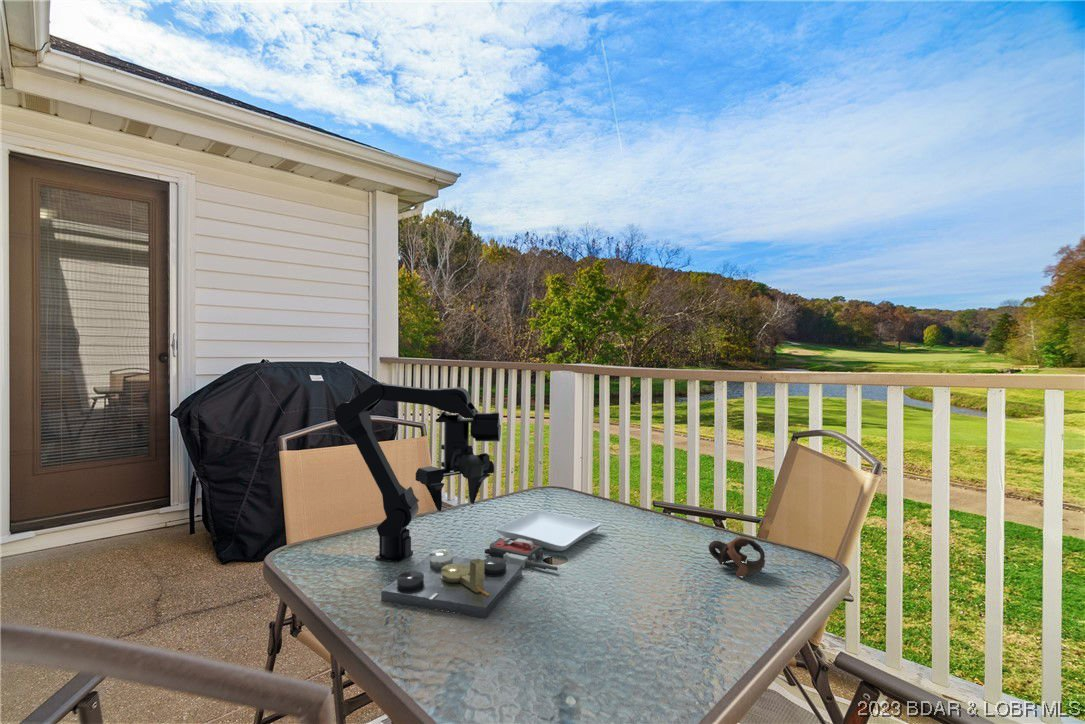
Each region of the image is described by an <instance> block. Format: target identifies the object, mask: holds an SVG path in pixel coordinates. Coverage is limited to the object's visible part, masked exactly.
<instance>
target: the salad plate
mask: <svg viewBox="0 0 1085 724" xmlns="http://www.w3.org/2000/svg"><path fill="white" fill-rule="evenodd" d="M601 525H602V523H601V522H598V521H593V520H589V519H585V518H579V517H575V516H571V515H566V514H562V513H557V512H552V511H551V512H550V511H546V510H542V509H541V510H540V509H538V510H537V509H536V510H534V511H532V512H529V513H526V514H525V515H524V514H523V515H522V516H520V517H517V518H514V519H513V520H510V521H507V522H506V523H504V524H501V525H500V526H497V527H495V531H496V532H497V533H498V534H499V535H501V537H504V538H506V539H507V538H510V539H509V540H512V541H515V540H517V539H518V538H520V539H525V540H530V541H533V542H534V544H535V545H537V546H541V547H542V549H544V550H545V549H546V550H551V551H555V552H563V551H566V550H568V548H569V547H570V548H571V546H572V545H574V544H575V543H578V542H579V541H580V540H583V539H584V538H585V537H587V536H589V535H592V534H593V533H594V532H596V531H597V530H598V529H599V528H601Z"/></svg>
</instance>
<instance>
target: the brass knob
mask: <svg viewBox="0 0 1085 724" xmlns="http://www.w3.org/2000/svg"><path fill="white" fill-rule="evenodd" d="M474 559H475V560H472V561H470V566H469V565H467V564H463V563H453V564H448V565H446V566H444V567H442V569H441V579H442V580H444V581H446V582H452V583H456V582H461V583H462V584H464V585H465V586H467V587H468V588H470V589H471V590H473V591H474V592H476V593H477V592H480V591H483V584H484V561H483V560H484V559H480V558H474Z"/></svg>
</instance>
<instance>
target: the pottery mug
mask: <svg viewBox="0 0 1085 724" xmlns="http://www.w3.org/2000/svg"><path fill="white" fill-rule="evenodd" d="M748 545H749V546H750V547H752V549H753V550H754V551H755V552H758V553H759V556H760V557H759V558H758V559H757V560H750V559H748V556H747V554H744V553H743V552H741V549H742V548H744V547H747V546H748ZM707 549H708V551H709V553H710V554H711V556H712V557H713V558H714V559H715V560H716V561H717V562H718V564H719V565H723V564H722V562H725V563H727V562H730V560H731V561H732V562H733V563H734V564H735V565H736V566H737V567H738V568H737V570H736V572H735V575H737V576H736V577H738V576H743V577H744V578H745V577H746V576H751V575H754V574H757V573H759V572H761V571H763V568H764V567H765V565H766V564H765V563H766V560H765V557H766V555H765V551H764V549H763V548H762V546H761V545H760V544H758V543H757V542H756V541H754V540H752V539H749V538H747V537H735V538H733V540H731V541H728V542H727V543H725V542H723V541H720V540H713V541H711V542H710V543H709V545H708V548H707ZM717 550H718V551H717ZM747 559H748V560H747ZM726 561H727V562H726ZM741 561H744V562H745V563H742V562H741Z"/></svg>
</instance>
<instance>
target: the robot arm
mask: <svg viewBox="0 0 1085 724" xmlns="http://www.w3.org/2000/svg"><path fill="white" fill-rule="evenodd" d="M382 401H389V402H397V403H398V402H399V403H406V404H407V403H408V404H415V405H421V406H423V405H424V406H429V407H433V408H435V409H437V410H440V411H442V412H441V414H440V415H439V416H438V417H437V418H436V419H435V423H443V424H444V428H443V431H444V433H443V434H444V437H443V441H444V444H441V445H440V446H441V447H440V449H441V450H443V453H444V454H443V456H444V457H443V461H441V462H440V463H441V464H440V466H441V467H443V468H438V467H436V466H432V465H430V466H424V467H419V468H418V469H417V470H416V472H415V481H416V482H419V483H420V484H422V485H424V486H425V487H426V489H427V490H428V492H429V494H430V496H431V499H432V501H433V503H434V505H435V508H436V510H437V511H438V512H441V511H442V508H443V506H442V505H443V495H442V494H443V493H442V490H443V488H444V485H445V483H444V482H442V481H443V480H444V478H445V477H450V476H456V475H462V477H463V478H465V479H467V485H468V486H467V487H468V497H469V503H470V504H473V505H474V504H475V502H476V499H477V496H478V494H479V490H480V487H481V486H482V484H483V483H484V481H485V480H486V479H487V478H489V477H490V476H491V474H494V473H495V463H494V462H493V461H492V460H491V459H490V455H489V454H488V453H487V452H484V453H479V454H474V451H473V450H474V449H473V445H470V441H469V440H470V437H471V438H472V439H474V441H475V442H492V443H493V442H500V441H501V435H502V433H501V432H502V425H501V420H500V412H499V411H498V412H497V411H495V412H479V411H478V409H477V408H476V406H475V405H474V404H473V403H472V400H471V395H470V393H469V391H468V390H467V389H466V388H463V387H461V386H459V387H458V386H457V387H456V386H455V387H444V388H428V387H427V388H425V387H416V386H407V385H399V384H392V383H386V382H382V381H381V382H374V383H372V384H371V385H370V386H369V387H368V388H367V389H365V390H364V391H363V392H361V393H360V394H358V395H357V396H355V397H354V398H352V399H351V400H349V401H346V402H342V403H340V404H339V405H337V407H336V408H335V409H334V414H333V418H334V421H335V422H336V424H337V425H338V426H339V428H340V429H341V430H342V432H343V433H344V434H345V435H347V437H349V438H350V439H351V440H352V441H353V442H354V443H355V445H356V447H357V449H358V450H359V453H360V455H361V458H362V459H363V460H364V462H365V464H366V466H367V468H368V470H369V472H370V474H371V476H372V478H373V480H374V482H375V484H376V485H377V488H378V489H379V491H380V493H381V496H382V497H381V498H382V506H383V507H382V508H383V511H384V513H385V517H386V518H385V519H383V520H382V522H380V524H379V525H378V526H376V532H377V534H378V536H379V544H378V545H379V546H378V547H379V548H378V549H379V551H378V552H379V553H378V554H377V555H376V556H375V560H378V561H383V562H385V561H386V562H393V563H401V561H403V560H405V559H406V558H408V557H409V556H410V555H412V554H414V551H413V550H412V536H411V535H410V534H411V533H410V529H408V528H407V527H408V526H409V525H410V524H411V522H412V521H413V520H414V519H415V517H416V516H418V515H417V514H418V512H419V510H420V509H419V504H418V502H419V501H420V500H419V499H418V498H417V497H416V495H415V493H414V489H413V487H412V486H409V487H408V488H407V489H406V487H404V486H403V485H401V484H400V481H399V480H398V478H397V476H396V475H395V472H394V470H393V469H392V466H391V465H390V463H389V461H388V459H387V457H386V455H385V453H384V451H383V449H382V447H381V445H380V444H379V441H378V440H377V437H376V436H375V434H374V432H373V423H372V418H371V414H370V412H371V411H373V409H375V408H376V407H377V406H378V405H379V404H380V403H381V402H382ZM449 413H450V414H449Z"/></svg>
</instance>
